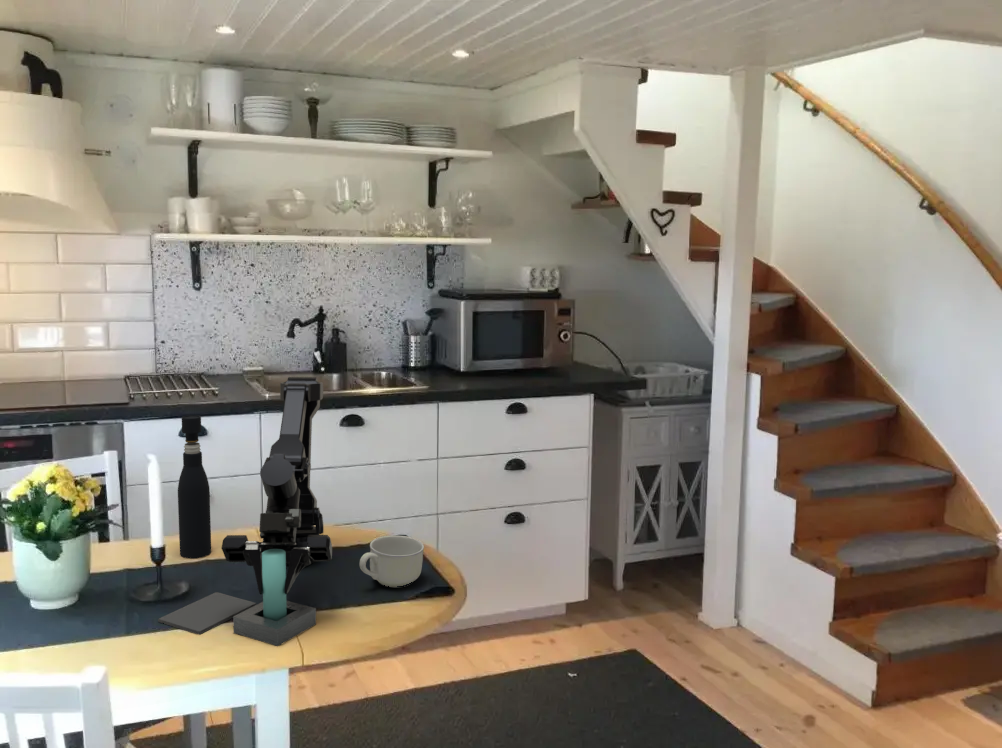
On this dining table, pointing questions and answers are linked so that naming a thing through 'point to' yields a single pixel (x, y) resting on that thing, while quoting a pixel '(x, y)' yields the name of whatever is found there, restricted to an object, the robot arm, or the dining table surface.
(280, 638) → the socket block
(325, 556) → the robot arm
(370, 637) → the dining table surface
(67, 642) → the dining table surface
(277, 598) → the teal peg
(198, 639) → the dining table surface
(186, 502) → the black bottle
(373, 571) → the teacup
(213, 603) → the rubber pad
